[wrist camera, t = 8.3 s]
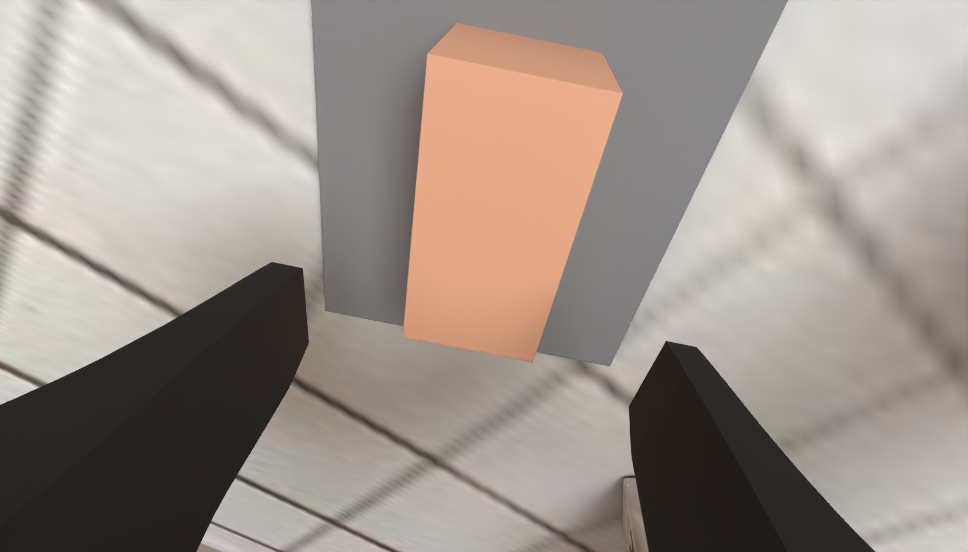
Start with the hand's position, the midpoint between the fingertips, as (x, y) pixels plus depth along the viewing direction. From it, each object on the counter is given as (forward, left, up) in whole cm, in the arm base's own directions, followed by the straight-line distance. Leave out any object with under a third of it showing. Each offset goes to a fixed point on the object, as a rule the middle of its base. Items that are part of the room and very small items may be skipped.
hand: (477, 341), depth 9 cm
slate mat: (0, 0, -8) cm, 8 cm away
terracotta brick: (0, 0, -7) cm, 7 cm away
